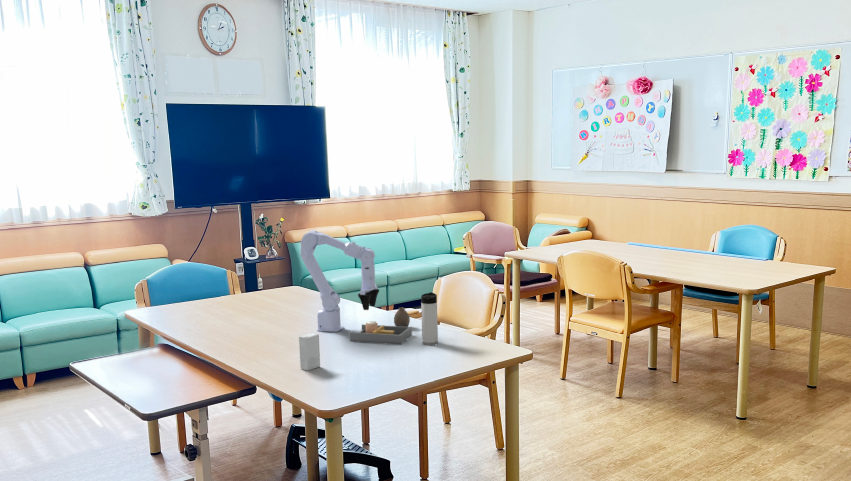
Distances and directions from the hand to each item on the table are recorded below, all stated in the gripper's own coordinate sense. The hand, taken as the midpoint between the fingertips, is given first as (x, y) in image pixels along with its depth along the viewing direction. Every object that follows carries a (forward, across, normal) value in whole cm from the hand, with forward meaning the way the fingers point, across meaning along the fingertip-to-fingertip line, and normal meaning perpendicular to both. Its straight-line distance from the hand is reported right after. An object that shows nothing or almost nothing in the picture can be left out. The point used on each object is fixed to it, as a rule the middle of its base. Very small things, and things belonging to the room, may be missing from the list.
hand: (369, 307), depth 296 cm
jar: (+9, -13, -6) cm, 17 cm away
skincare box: (+10, -56, +1) cm, 57 cm away
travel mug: (+10, -16, -32) cm, 37 cm away
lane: (+9, -13, -10) cm, 19 cm away
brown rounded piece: (+10, +5, -13) cm, 17 cm away
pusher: (+9, -13, -12) cm, 20 cm away
